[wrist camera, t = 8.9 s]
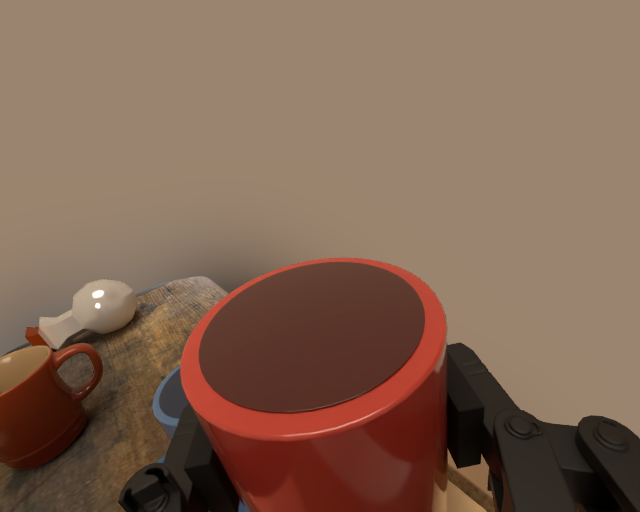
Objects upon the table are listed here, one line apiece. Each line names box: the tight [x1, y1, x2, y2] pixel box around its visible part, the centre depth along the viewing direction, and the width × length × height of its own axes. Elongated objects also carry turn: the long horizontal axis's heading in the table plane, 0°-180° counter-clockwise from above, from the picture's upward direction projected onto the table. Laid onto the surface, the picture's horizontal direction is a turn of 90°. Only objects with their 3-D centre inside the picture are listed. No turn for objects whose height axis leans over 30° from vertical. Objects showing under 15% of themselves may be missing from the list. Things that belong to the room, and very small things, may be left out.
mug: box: [0, 343, 103, 470], centre depth 33 cm, size 12×9×10 cm
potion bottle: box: [25, 279, 138, 352], centre depth 51 cm, size 9×10×15 cm
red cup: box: [180, 258, 448, 512], centre depth 11 cm, size 7×7×10 cm
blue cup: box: [152, 365, 241, 502], centre depth 26 cm, size 7×7×10 cm
